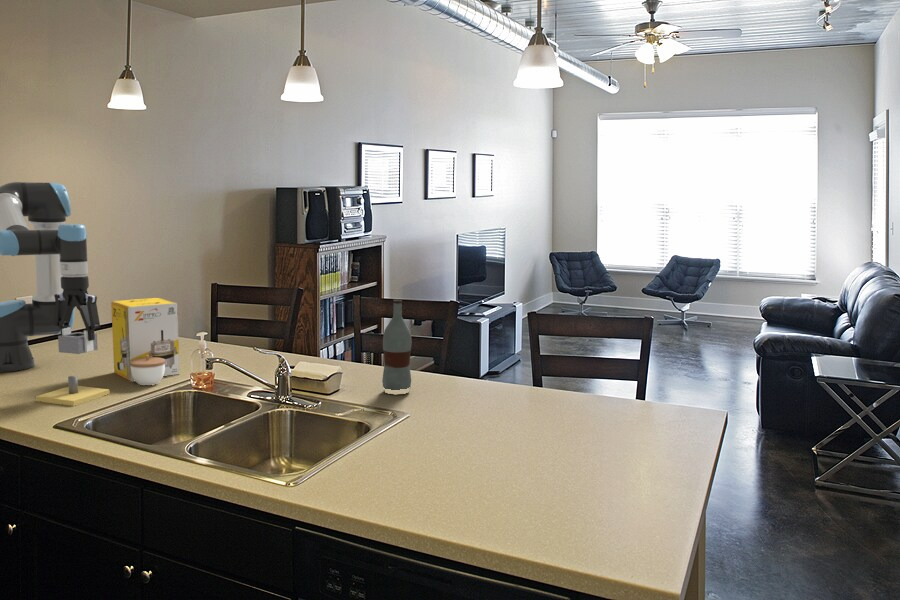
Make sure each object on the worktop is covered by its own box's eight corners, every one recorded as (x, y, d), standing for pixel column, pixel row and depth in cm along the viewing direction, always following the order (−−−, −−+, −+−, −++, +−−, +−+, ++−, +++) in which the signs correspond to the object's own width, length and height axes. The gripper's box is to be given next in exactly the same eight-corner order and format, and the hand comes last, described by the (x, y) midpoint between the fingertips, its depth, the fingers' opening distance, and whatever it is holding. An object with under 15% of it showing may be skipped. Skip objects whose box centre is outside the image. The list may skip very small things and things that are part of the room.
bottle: (413, 389, 242) (414, 298, 238) (408, 396, 233) (410, 302, 229) (385, 387, 243) (385, 297, 239) (379, 395, 234) (380, 301, 230)
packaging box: (131, 381, 244) (128, 307, 241) (114, 372, 256) (111, 301, 253) (179, 374, 255) (177, 303, 252) (161, 366, 267) (158, 297, 263)
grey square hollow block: (58, 352, 223) (58, 336, 223) (77, 347, 231) (77, 332, 230) (78, 354, 221) (78, 337, 221) (97, 349, 228) (96, 333, 228)
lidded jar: (128, 388, 236) (127, 359, 234) (133, 380, 246) (132, 352, 245) (164, 387, 238) (163, 358, 237) (167, 379, 249) (166, 351, 247)
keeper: (36, 401, 220) (35, 379, 219) (73, 389, 233) (72, 369, 232) (73, 406, 215) (72, 384, 215) (109, 394, 229) (108, 373, 228)
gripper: (37, 275, 222) (41, 350, 225) (92, 278, 217) (96, 354, 219) (57, 273, 229) (61, 345, 232) (111, 275, 224) (114, 350, 227)
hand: (78, 350), depth 226 cm, fingers closed on grey square hollow block, 7 cm apart
